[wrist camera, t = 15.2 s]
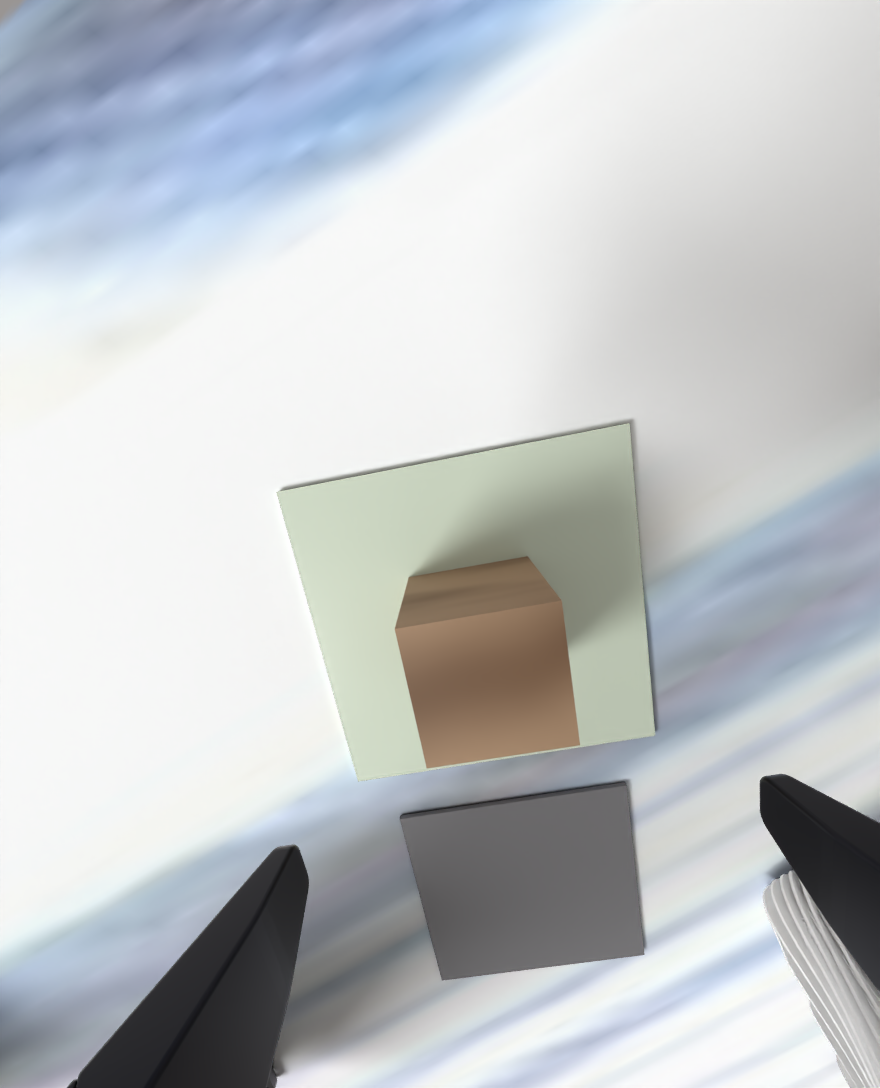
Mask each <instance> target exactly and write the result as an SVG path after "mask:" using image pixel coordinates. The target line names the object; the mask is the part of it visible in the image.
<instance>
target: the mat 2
mask: <svg viewBox="0 0 880 1088" xmlns="http://www.w3.org/2000/svg"><path fill="white" fill-rule="evenodd" d="M400 821H401V825H402V829H403V832H404V836H405V840H406V844H407V848H408V852H409V855H410V859H411V863H412V867H413V871H414V875H415V878H416V882H417V886H418V890H419V894H420V897H421V901H422V905H423V909H424V913H425V917H426V920H427V924H428V928H429V932H430V936H431V940H432V943H433V947H434V951H435V955H436V959H437V963H438V966H439V970H440V974H441V978H442V980H449V979H457V978H465V977H473V976H481V975H489V974H497V973H505V972H512V971H520V970H528V969H536V968H544V967H552V966H560V965H568V964H576V963H584V962H592V961H600V960H607V959H615V958H623V957H631V956H639V955H644V947H643V937H642V928H641V918H640V908H639V899H638V889H637V879H636V869H635V860H634V850H633V840H632V831H631V821H630V811H629V802H628V792H627V785H626V783H625V782H622V783H616V784H609V785H602V786H596V787H589V788H582V789H575V790H569V791H562V792H555V793H549V794H542V795H535V796H528V797H522V798H515V799H508V800H502V801H495V802H488V803H481V804H475V805H468V806H461V807H455V808H448V809H441V810H434V811H428V812H421V813H414V814H408V815H401V816H400Z"/></svg>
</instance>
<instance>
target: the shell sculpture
mask: <svg viewBox="0 0 880 1088" xmlns="http://www.w3.org/2000/svg"><path fill="white" fill-rule="evenodd" d="M763 903H764V907H765V911H766V914H767V917H768V919H769V921H770V924H771V926H772V928H773V930H774V932H775V935H776V937H777V939H778V941H779V944H780V946H781V948H782V951H783V954H784V956H785V959H786V961H787V963H788V965H789V967H790V969H791V971H792V973H793V974H794V976H795V978H796V979H797V981H798V982H799V984H800V986H801V987H802V989H803V990H804V992H805V993H806V995H807V996H808V998H809V1005H810V1009H811V1012H812V1014H813V1016H814V1018H815V1020H816V1022H817V1024H818V1025H819V1027H820V1029H821V1030H822V1032H823V1034H824V1035H825V1037H826V1038H827V1040H828V1042H829V1043H830V1045H831V1046H832V1048H833V1050H834V1051H835V1053H836V1058H837V1062H838V1065H839V1067H840V1070H841V1072H842V1074H843V1076H844V1078H845V1080H846V1081H847V1083H848V1085H849V1087H850V1088H880V993H879V991H878V990H877V989H876V987H875V986H874V985H873V983H872V982H871V981H870V979H869V978H868V977H867V975H866V974H865V973H864V971H863V970H862V969H861V967H860V966H859V965H858V963H857V962H856V961H855V959H854V958H853V957H852V955H851V954H850V953H849V951H848V950H847V949H846V947H845V946H844V945H843V943H842V942H841V940H840V939H839V938H838V936H837V935H836V934H835V932H834V931H833V929H832V928H831V927H830V925H829V924H828V922H827V921H826V919H825V918H824V916H823V915H822V913H821V912H820V910H819V909H818V907H817V906H816V904H815V903H814V901H813V899H812V898H811V896H810V895H809V893H808V892H807V890H806V889H805V887H804V885H803V884H802V882H801V881H800V879H799V878H798V876H797V874H796V873H795V871H789V873H788V874H783V875H781V877H780V878H779V879H775V880H773V881H772V883H771V885H769V886H767V887H766V888H765V889H764V892H763Z"/></svg>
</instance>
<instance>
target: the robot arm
mask: <svg viewBox="0 0 880 1088" xmlns="http://www.w3.org/2000/svg"><path fill="white" fill-rule="evenodd" d="M760 813H761V817H762V820H763V822H764V824H765V826H766V828H767V829H768V831H769V832H770V834H771V835H772V837H773V839H774V840H775V842H776V843H777V845H778V846H779V848H780V850H781V851H782V853H783V854H784V856H785V857H786V859H787V860H788V862H789V864H790V865H791V867H792V868H793V870H794V871H795V873H796V874H797V876H798V878H799V879H800V881H801V882H802V884H803V885H804V887H805V889H806V890H807V892H808V893H809V895H810V896H811V898H812V899H813V901H814V903H815V904H816V906H817V907H818V909H819V910H820V912H821V913H822V915H823V916H824V918H825V919H826V921H827V922H828V924H829V925H830V927H831V928H832V929H833V931H834V932H835V934H836V935H837V936H838V938H839V939H840V940H841V942H842V943H843V945H844V946H845V947H846V949H847V950H848V951H849V953H850V954H851V955H852V957H853V958H854V959H855V961H856V962H857V963H858V965H859V966H860V967H861V969H862V970H863V971H864V973H865V974H866V975H867V977H868V978H869V979H870V981H871V982H872V983H873V985H874V986H875V987H876V989H877V990H878V991H879V993H880V823H879V822H877V821H875V820H873V819H871V818H869V817H867V816H865V815H863V814H861V813H859V812H858V811H856V810H854V809H852V808H850V807H848V806H846V805H844V804H842V803H840V802H838V801H837V800H835V799H833V798H831V797H829V796H827V795H825V794H823V793H821V792H819V791H817V790H815V789H814V788H812V787H810V786H808V785H806V784H804V783H802V782H800V781H798V780H796V779H794V778H793V777H790V776H788V775H785V774H778V775H771V776H764V777H762V778H761V780H760ZM308 887H309V879H308V873H307V870H306V867H305V865H304V862H303V859H302V856H301V853H300V850H299V848H298V847H297V846H296V845H286V846H280V847H277V848H275V849H274V850H273V851H272V852H271V853H270V854H269V855H268V857H267V858H266V859H265V860H264V861H263V862H262V863H261V865H260V866H259V867H258V868H257V869H256V870H255V872H254V873H253V874H252V875H251V876H250V877H249V878H248V880H247V881H246V882H245V883H244V884H243V885H242V886H241V888H240V889H239V890H238V891H237V892H236V893H235V895H234V896H233V897H232V898H231V899H230V900H229V901H228V903H227V904H226V905H225V906H224V907H223V908H222V910H221V911H220V912H219V913H218V914H217V915H216V916H215V918H214V919H213V920H212V921H211V922H210V923H209V925H208V926H207V927H206V928H205V929H204V930H203V931H202V933H201V934H200V935H199V936H198V937H197V938H196V940H195V941H194V942H193V943H192V944H191V945H190V946H189V948H188V949H187V950H186V951H185V952H184V953H183V954H182V956H181V957H180V958H179V959H178V960H177V961H176V963H175V964H174V965H173V966H172V967H171V968H170V969H169V971H168V972H167V973H166V974H165V975H164V976H163V978H162V979H161V980H160V981H159V982H158V983H157V984H156V986H155V987H154V988H153V989H152V990H151V991H150V993H149V994H148V995H147V996H146V997H145V998H144V999H143V1001H142V1002H141V1003H140V1004H139V1005H138V1006H137V1008H136V1009H135V1010H134V1011H133V1012H132V1013H131V1014H130V1016H129V1017H128V1018H127V1019H126V1020H125V1021H124V1022H123V1024H122V1025H121V1026H120V1027H119V1028H118V1029H117V1031H116V1032H115V1033H114V1034H113V1035H112V1036H111V1037H110V1039H109V1040H108V1041H107V1042H106V1043H105V1044H104V1046H103V1047H102V1048H101V1049H100V1050H99V1051H98V1052H97V1054H96V1055H95V1056H94V1057H93V1058H92V1059H91V1061H90V1062H89V1063H88V1064H87V1065H86V1066H85V1067H84V1069H83V1070H82V1071H81V1072H80V1074H79V1076H78V1080H77V1079H76V1080H73V1081H72V1082H71V1083H70V1084H69V1086H68V1087H67V1088H275V1087H276V1083H277V1078H276V1075H275V1073H274V1071H273V1068H272V1063H273V1059H274V1055H275V1051H276V1047H277V1044H278V1040H279V1036H280V1032H281V1028H282V1024H283V1020H284V1016H285V1012H286V1008H287V1004H288V999H289V995H290V991H291V985H292V980H293V975H294V969H295V964H296V958H297V952H298V946H299V940H300V935H301V929H302V923H303V917H304V912H305V906H306V900H307V894H308Z"/></svg>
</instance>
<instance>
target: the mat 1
mask: <svg viewBox="0 0 880 1088" xmlns="http://www.w3.org/2000/svg"><path fill="white" fill-rule="evenodd" d="M277 496H278V499H279V503H280V506H281V510H282V514H283V517H284V521H285V524H286V528H287V531H288V535H289V538H290V542H291V545H292V549H293V552H294V556H295V560H296V563H297V567H298V570H299V574H300V577H301V581H302V584H303V588H304V591H305V595H306V598H307V602H308V606H309V609H310V613H311V616H312V620H313V623H314V627H315V630H316V634H317V637H318V641H319V644H320V648H321V652H322V655H323V659H324V662H325V666H326V669H327V673H328V676H329V680H330V683H331V687H332V690H333V694H334V698H335V701H336V705H337V708H338V712H339V715H340V719H341V722H342V726H343V729H344V733H345V736H346V740H347V744H348V747H349V751H350V754H351V758H352V761H353V765H354V768H355V772H356V775H357V779H358V781H365V780H371V779H378V778H384V777H391V776H397V775H404V774H410V773H417V772H423V771H430V770H436V769H443V768H449V767H455V766H462V765H468V764H475V763H481V762H488V761H494V760H501V759H507V758H514V757H520V756H527V755H533V754H540V753H546V752H553V751H559V750H566V749H572V748H579V747H585V746H592V745H598V744H605V743H611V742H618V741H624V740H630V739H637V738H643V737H650V736H655V728H654V716H653V704H652V691H651V679H650V667H649V655H648V642H647V630H646V618H645V606H644V593H643V581H642V569H641V557H640V544H639V532H638V520H637V508H636V496H635V483H634V471H633V459H632V447H631V434H630V423H627V424H622V425H617V426H612V427H606V428H601V429H596V430H591V431H586V432H581V433H576V434H571V435H565V436H560V437H555V438H550V439H545V440H540V441H535V442H530V443H524V444H519V445H514V446H509V447H504V448H499V449H494V450H489V451H483V452H478V453H473V454H468V455H463V456H458V457H453V458H448V459H443V460H437V461H432V462H427V463H422V464H417V465H412V466H407V467H402V468H396V469H391V470H386V471H381V472H376V473H371V474H366V475H361V476H355V477H350V478H345V479H340V480H335V481H330V482H325V483H320V484H314V485H309V486H304V487H299V488H294V489H289V490H284V491H279V492H277ZM526 556H528V557H529V559H530V560H531V561H532V562H533V564H534V565H535V566H536V568H537V569H538V570H539V572H540V573H541V574H542V575H543V577H544V578H545V579H546V581H547V582H548V583H549V585H550V586H551V587H552V588H553V590H554V591H555V592H556V594H557V595H558V596H559V598H560V599H561V600H562V606H563V614H564V622H565V630H566V638H567V646H568V653H569V661H570V669H571V677H572V685H573V693H574V701H575V709H576V716H577V724H578V732H579V740H580V745H579V746H572V747H566V748H559V749H553V750H546V751H539V752H533V753H526V754H520V755H513V756H506V757H500V758H493V759H487V760H480V761H473V762H467V763H460V764H454V765H447V766H440V767H434V768H426V763H425V759H424V755H423V750H422V746H421V742H420V737H419V733H418V729H417V724H416V720H415V716H414V711H413V707H412V703H411V698H410V694H409V689H408V685H407V681H406V676H405V672H404V668H403V663H402V659H401V655H400V650H399V646H398V642H397V637H396V633H395V626H396V622H397V618H398V615H399V611H400V607H401V604H402V600H403V596H404V593H405V589H406V585H407V582H408V578H409V577H413V576H418V575H424V574H430V573H435V572H441V571H447V570H452V569H458V568H463V567H469V566H475V565H480V564H486V563H492V562H497V561H503V560H509V559H514V558H520V557H526Z"/></svg>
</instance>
